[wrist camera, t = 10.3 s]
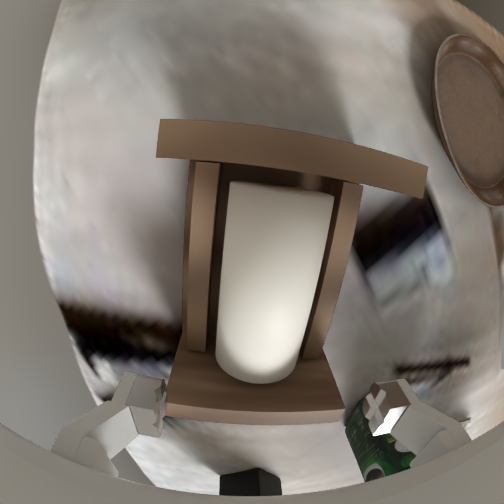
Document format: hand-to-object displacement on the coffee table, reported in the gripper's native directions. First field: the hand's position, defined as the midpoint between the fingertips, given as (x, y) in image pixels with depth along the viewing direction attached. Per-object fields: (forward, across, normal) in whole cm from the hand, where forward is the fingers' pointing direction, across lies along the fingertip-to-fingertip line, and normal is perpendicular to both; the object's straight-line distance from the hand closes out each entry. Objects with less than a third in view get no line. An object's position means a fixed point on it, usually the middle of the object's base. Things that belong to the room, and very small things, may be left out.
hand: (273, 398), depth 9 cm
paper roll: (+10, -3, -1) cm, 11 cm away
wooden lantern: (+13, -1, -1) cm, 13 cm away
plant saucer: (+13, -21, -18) cm, 30 cm away
